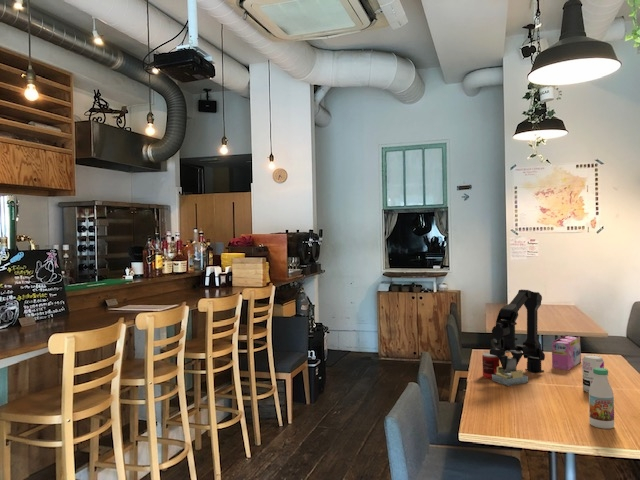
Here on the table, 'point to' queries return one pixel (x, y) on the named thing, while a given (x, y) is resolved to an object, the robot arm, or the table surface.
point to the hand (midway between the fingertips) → (509, 368)
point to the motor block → (509, 377)
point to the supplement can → (590, 369)
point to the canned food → (489, 365)
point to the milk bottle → (601, 400)
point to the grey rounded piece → (510, 365)
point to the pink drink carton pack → (566, 352)
